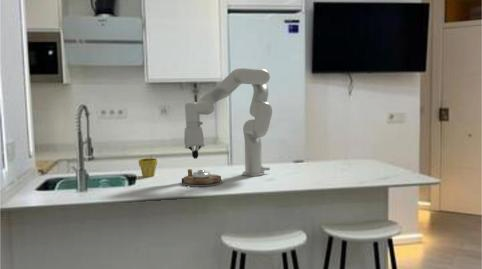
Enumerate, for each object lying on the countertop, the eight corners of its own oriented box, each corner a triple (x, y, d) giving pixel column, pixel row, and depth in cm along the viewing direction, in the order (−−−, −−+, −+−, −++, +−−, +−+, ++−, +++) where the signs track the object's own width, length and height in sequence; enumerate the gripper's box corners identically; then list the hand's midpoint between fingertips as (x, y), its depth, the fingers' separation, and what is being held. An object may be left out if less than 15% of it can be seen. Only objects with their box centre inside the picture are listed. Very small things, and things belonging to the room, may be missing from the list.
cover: (200, 175, 266) (200, 168, 266) (213, 177, 261) (213, 170, 260) (189, 178, 259) (189, 171, 258) (202, 180, 253) (202, 172, 253)
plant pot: (153, 178, 277) (153, 160, 276) (136, 177, 279) (135, 160, 278) (160, 174, 287) (159, 158, 286) (143, 174, 290) (143, 157, 289)
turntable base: (217, 177, 275) (217, 172, 274) (227, 185, 254) (227, 179, 253) (178, 180, 268) (178, 174, 268) (185, 188, 247) (185, 182, 247)
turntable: (201, 175, 275) (200, 166, 274) (228, 179, 263) (228, 169, 262) (175, 181, 259) (175, 172, 259) (203, 186, 247) (203, 175, 246)
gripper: (205, 123, 271) (207, 155, 274) (178, 125, 267) (180, 158, 269) (208, 124, 264) (210, 157, 266) (180, 126, 260) (183, 160, 262)
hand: (195, 158), depth 268 cm, fingers closed
